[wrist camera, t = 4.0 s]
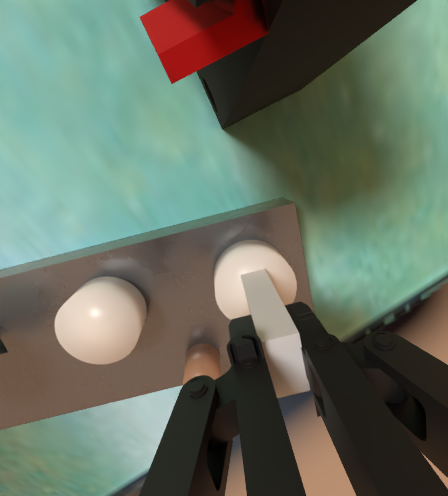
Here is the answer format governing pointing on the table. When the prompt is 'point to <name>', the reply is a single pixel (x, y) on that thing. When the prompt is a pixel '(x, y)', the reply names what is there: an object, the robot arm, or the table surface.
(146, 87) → the table surface
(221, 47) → the electrical component
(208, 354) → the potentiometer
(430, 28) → the table surface
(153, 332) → the plate
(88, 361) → the knob mid
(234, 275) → the knob outer
